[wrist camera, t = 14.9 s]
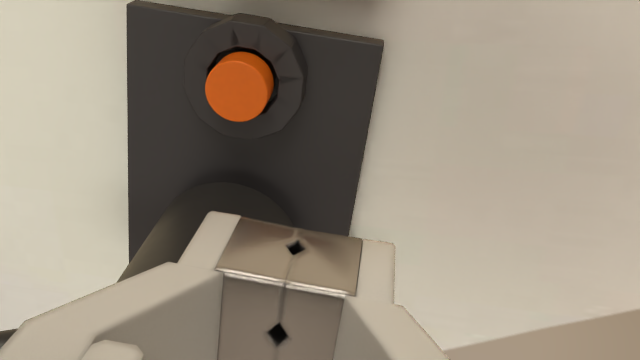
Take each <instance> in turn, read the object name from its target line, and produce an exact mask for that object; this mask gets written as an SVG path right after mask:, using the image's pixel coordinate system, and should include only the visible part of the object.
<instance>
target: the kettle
mask: <svg viewBox="0 0 640 360" xmlns="http://www.w3.org/2000/svg"><path fill="white" fill-rule="evenodd" d="M211 211H216V212H222V213H228V214H234V215H240V216H241V217H248V218H253V219H258V220H263V221H268V222H273V223H278V224H283V225H288V226H292V227H294V225H293V224H292V222H291V220H290V218H289V217H288V216H287V214H286V213H285V212H284V211H283V210H282V209H281V208H280V207H279V205H278V204H276V203H275V202H274V201H273V200H271V199H270V198H269V197H267V196H265V195H264V194H262V193H260V192H258V191H256V190H254V189H252V188H249V187H246V186H243V185H239V184H234V183H226V182H215V183H207V184H203V185H199V186H195V187H193V188H191V189H188V190H187V191H185V192H183V193H181V194H180V195H179V196H178V197H176V198H175V199H174V200H173V201H172V202H171V203H170V205H169V206H168V207H167V209H166V210H165V212H164V213H163V215H162V216H161V218H160V219H159V221H158V222H157V223H156V225H155V226H154V228H153V229H152V231H151V232H150V234H149V235H148V237H147V238H146V240H145V241H144V243H143V244H142V246H141V247H140V249H139V250H138V252H137V253H136V255H135V256H134V258H133V259H132V260H131V262H130V263H129V265H128V266H127V268H126V269H125V271H124V272H123V274H122V275H121V277H120V278H119V280H118V281H117V283H118V282H120V281H123V280H125V279H128V278H130V277H133V276H135V275H137V274H140V273H142V272H145V271H147V270H150V269H152V268H154V267H157V266H159V265H162V264H164V263H166V262H172V263H178V261H179V259H180V258H181V256H182V254H183V253H184V251H185V250H186V248H187V246H188V245H189V243H190V241H191V240H192V238H193V237H194V235H195V233H196V232H197V230H198V228H199V227H200V225H201V223H202V222H203V220H204V219H205V217H206V215H207V214H208V213H209V212H211ZM16 331H17V329H12V330H6V331H0V349H1V348H2V346H3V345H4V344H5V343H6V342H7V341H8V340H9V338H10V337H11V336H12V335H13V334H14V333H15V332H16Z"/></svg>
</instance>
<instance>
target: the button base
mask: <svg viewBox="0 0 640 360" xmlns="http://www.w3.org/2000/svg"><path fill="white" fill-rule="evenodd" d="M383 47H384V40H380V39H374V38H368V37H362V36H355V35H349V34H343V33H337V32H331V31H324V30H318V29H312V28H306V27H300V26H294V25H287V24H281V23H276V22H275V21H273V20H272V19H270V18H266V17H260V16H254V15H248V14H241V13H238V14H235V15H233V16H232V15H225V14H219V13H213V12H207V11H201V10H195V9H188V8H182V7H176V6H170V5H164V4H157V3H151V2H145V1H139V0H134V1H132V2H130V3H128V4H127V97H128V203H129V263H130V262H131V260H132V259H133V258H134V256H135V255H136V253H137V252H138V250H139V249H140V247H141V246H142V244H143V243H144V241H145V240H146V238H147V237H148V235H149V234H150V232H151V231H152V229H153V228H154V226H155V225H156V223H157V222H158V221H159V219H160V218H161V216H162V215H163V213H164V212H165V210H166V209H167V207H168V206H169V205H170V203H171V202H172V201H173V200H174V199H175V198H176V197H178V196H179V195H180V194H181V193H183V192H185V191H187V190H188V189H191V188H193V187H195V186H199V185H203V184H207V183H215V182H226V183H234V184H239V185H243V186H246V187H249V188H252V189H254V190H256V191H258V192H260V193H262V194H264V195H265V196H267V197H269V198H270V199H271V200H273V201H274V202H275V203H276V204H278V205H279V207H280V208H281V209H282V210H283V211H284V212H285V213H286V214H287V216H288V217H289V218H290V220H291V222H292V224H293V225H294V227H297V228H302V229H304V230H311V231H317V232H323V233H330V234H336V235H342V236H348V235H349V230H350V224H351V219H352V214H353V208H354V203H355V198H356V192H357V187H358V182H359V176H360V171H361V165H362V160H363V155H364V149H365V144H366V139H367V133H368V128H369V123H370V117H371V112H372V106H373V101H374V96H375V90H376V85H377V80H378V74H379V69H380V64H381V58H382V53H383ZM234 52H249V53H252V54H255V55H256V56H258V57H260V58H261V59H262V60H263V61H265V63H266V64H267V65H268V66H269V68H270V70H271V72H272V75H273V79H274V88H273V92H272V95H271V97H270V99H269V101H268V102H267V104H266V106H265V108H264V109H263V111H262V112H261V113H260V114H259V115H258V116H257V117H255V118H254V119H251V120H249V121H244V122H235V121H230V120H227V119H225V118H223V117H221V116H220V115H218V114H217V113H216V112H215V111H214V110H213V109H212V107H211V106H210V104H209V102H208V100H207V97H206V93H205V83H206V79H207V77H208V75H209V73H210V72H211V70H212V69H213V68H214V67H215V66H216V65H217V64H218V63H219V62H220V60H221V59H223V58H224V57H225V56H227V55H228V54H231V53H234Z"/></svg>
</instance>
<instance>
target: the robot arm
mask: <svg viewBox="0 0 640 360" xmlns="http://www.w3.org/2000/svg"><path fill="white" fill-rule="evenodd" d="M394 281H395V245H394V244H393V243H388V242H381V241H374V240H367V239H363V241H362V239H361V238H355V237H349V236H342V235H336V234H330V233H323V232H317V231H311V230H304V229H302V228H297V227H292V226H288V225H283V224H278V223H273V222H268V221H263V220H258V219H253V218H248V217H241V216H240V215H234V214H228V213H222V212H216V211H211V212H209V213H208V214H207V215H206V217H205V219H204V220H203V222H202V223H201V225H200V227H199V228H198V230H197V232H196V233H195V235H194V237H193V238H192V240H191V241H190V243H189V245H188V246H187V248H186V250H185V251H184V253H183V254H182V256H181V258H180V259H179V261H178V263H172V262H166V263H164V264H162V265H159V266H157V267H154V268H152V269H150V270H147V271H145V272H142V273H140V274H137V275H135V276H133V277H130V278H128V279H125V280H123V281H120V282H118V283H116V284H113V285H111V286H108V287H106V288H103V289H101V290H99V291H96V292H94V293H91V294H89V295H87V296H84V297H82V298H79V299H77V300H74V301H72V302H70V303H67V304H65V305H62V306H60V307H57V308H55V309H53V310H50V311H48V312H45V313H43V314H40V315H38V316H36V317H33V318H31V319H28V320H26V321H25V322H24V323H23V324H22V325H21V326H20V327H19V328H18V329H17V331H16V332H15V333H14V334H13V335H12V336H11V337H10V338H9V340H8V341H7V342H6V343H5V344H4V345H3V346H2V348H1V349H0V360H450V359H449V358H448V356H447V355H446V354H445V353H444V352H443V351H442V350H441V348H440V347H439V346H438V345H437V344H436V343H435V342H434V341H433V339H432V338H431V337H430V336H429V335H428V334H427V333H426V332H425V330H424V329H423V328H422V327H421V326H420V325H419V324H418V322H417V321H416V320H415V319H414V318H413V317H412V316H411V315H410V313H409V312H408V311H407V310H406V309H405V308H404V307H403V306H400V305H395V304H394Z"/></svg>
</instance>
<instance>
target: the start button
mask: <svg viewBox="0 0 640 360" xmlns="http://www.w3.org/2000/svg"><path fill="white" fill-rule="evenodd" d="M273 88H274V79H273V75H272V72H271V70H270V68H269V66H268V65H267V64H266V63H265V61H263V60H262V59H261V58H260V57H258V56H256V55H255V54H252V53H249V52H234V53H231V54H228V55H227V56H225V57H224V58H223V59H221V60H220V62H219V63H218V64H217V65H216V66H215V67H214V68H213V69H212V70H211V72H210V73H209V75H208V77H207V79H206V83H205V93H206V97H207V100H208V102H209V104H210V106H211V107H212V109H213V110H214V111H215V112H216V113H217V114H218V115H220V116H221V117H223V118H225V119H227V120H230V121H235V122H244V121H249V120H251V119H254V118H255V117H257V116H258V115H259V114H260V113H261V112H262V111H263V109H264V108H265V106H266V104H267V102H268V101H269V99H270V97H271V95H272V92H273Z"/></svg>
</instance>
